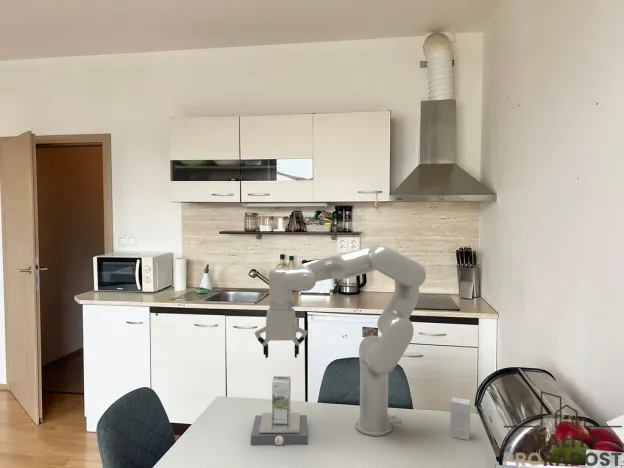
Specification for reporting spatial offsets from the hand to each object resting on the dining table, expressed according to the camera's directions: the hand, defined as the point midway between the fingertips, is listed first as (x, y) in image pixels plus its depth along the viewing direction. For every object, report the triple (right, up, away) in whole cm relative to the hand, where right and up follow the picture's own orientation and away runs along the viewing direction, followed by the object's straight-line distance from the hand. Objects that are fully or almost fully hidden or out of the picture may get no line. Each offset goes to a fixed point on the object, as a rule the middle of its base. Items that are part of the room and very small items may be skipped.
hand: (281, 356), depth 145 cm
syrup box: (0, -22, +1) cm, 22 cm away
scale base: (0, -26, +1) cm, 26 cm away
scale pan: (0, -23, +1) cm, 23 cm away
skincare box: (+60, -27, 0) cm, 65 cm away
